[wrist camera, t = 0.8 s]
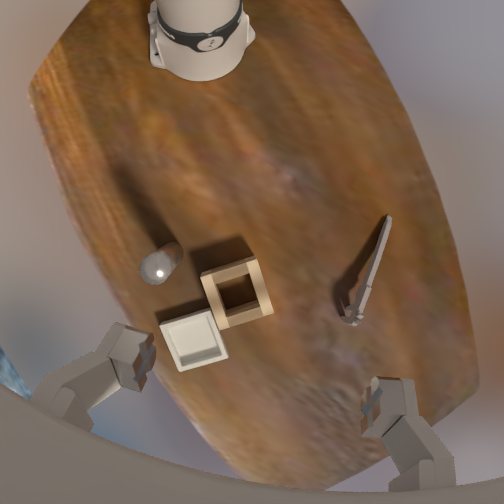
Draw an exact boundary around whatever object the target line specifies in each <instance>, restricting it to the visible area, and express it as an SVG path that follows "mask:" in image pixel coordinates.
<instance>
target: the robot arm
mask: <svg viewBox="0 0 504 504" xmlns="http://www.w3.org/2000/svg"><path fill="white" fill-rule="evenodd" d="M148 21H149V24H150V61H151V64H152V65H153V66H154V67H158V68H163V69H167V70H169V71H171V72H172V73H174V74H175V75H177V76H179V77H181V78H184V79H187V80H191V81H208V80H213V79H216V78H219V77H222V76H224V75H226V74H227V73H229V72H230V71H231V70H233V69H234V68H235V67H236V66H237V65H238V63H239V62H240V60H241V58H242V56H243V54H244V51H245V49H246V47H247V46H248V45H249V44H250V43H251V42H252V41H253V40H254V39H255V32H254V30H253V29H252V27H251V26H250V25H249V17H248V15H246V14H245V13H244V11H243V5H242V0H155V1H153V2H152V3H151V5H150V13H148ZM157 53H159V55H157V56H155V54H157ZM153 341H154V336H153V333H149V332H146V331H143V330H140V329H136V328H133V327H130V326H127V325H124V324H121V323H117V322H116V323H114V324H113V325H112V326H111V328H110V330H109V331H108V333H107V334H106V336H105V337H104V339H103V340H102V342H101V344H100V345H99V347H98V348H97V350H96V352H95V353H94V352H90V353H88V354H86V355H84V356H82V357H80V358H79V359H76V360H75V361H72V362H71V363H69V364H67V365H65V366H63V367H61V368H59V369H57V370H55V371H53V372H51V373H49V374H47V375H45V376H44V377H43V379H42V381H41V382H40V384H39V385H38V387H37V388H36V390H35V391H34V393H33V395H32V396H31V398H30V399H29V400H27V399H25V398H24V397H22V396H20V395H19V394H17V393H15V392H14V391H12V390H11V389H9V388H7V387H6V386H4V385H3V384H1V383H0V504H504V477H500V478H496V479H491V480H487V481H482V482H476V483H471V484H465V485H459V486H456V476H455V466H454V457H453V456H452V454H451V453H450V452H449V451H448V449H447V448H446V447H445V445H444V444H443V442H442V441H441V440H440V439H439V437H438V436H437V435H436V434H435V432H434V431H433V430H432V428H431V427H430V426H429V424H428V423H427V422H426V420H425V419H424V418H423V417H422V416H419V413H418V406H417V399H416V392H415V386H414V382H413V380H412V379H400V378H392V377H380V376H375V377H374V378H373V379H372V380H371V386H370V387H368V388H366V390H365V391H364V393H363V396H362V399H361V412H362V413H363V415H364V418H363V419H362V420H361V436H367V437H380V438H381V440H382V441H383V443H384V445H385V447H386V449H387V450H388V452H389V454H390V456H391V458H392V459H393V461H394V463H395V465H396V466H397V468H398V470H399V472H400V475H399V476H398V477H396V478H395V479H393V480H392V481H390V483H389V492H337V491H321V490H309V489H299V488H290V487H282V486H275V485H268V484H262V483H256V482H250V481H245V480H240V479H235V478H229V477H225V476H221V475H216V474H212V473H208V472H204V471H200V470H196V469H192V468H189V467H185V466H182V465H178V464H175V463H171V462H168V461H165V460H162V459H159V458H156V457H153V456H150V455H147V454H144V453H141V452H138V451H136V450H133V449H130V448H127V447H125V446H122V445H120V444H117V443H114V442H112V441H110V440H107V439H105V438H103V437H100V436H98V435H96V434H93V433H91V432H90V431H91V429H92V427H93V425H94V423H93V421H92V419H91V418H90V416H89V414H88V413H87V411H88V410H89V409H91V408H92V407H94V406H95V405H96V404H98V403H100V402H101V401H102V400H104V399H105V398H107V397H108V396H109V395H111V394H112V393H113V392H115V391H117V390H118V389H119V388H120V387H121V386H122V387H125V388H128V389H131V390H134V391H137V392H141V391H142V389H143V387H144V384H145V382H146V380H147V377H146V373H147V372H149V371H150V370H152V368H153V365H154V363H155V359H156V347H155V346H154V345H153V344H152V343H153Z"/></svg>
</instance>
